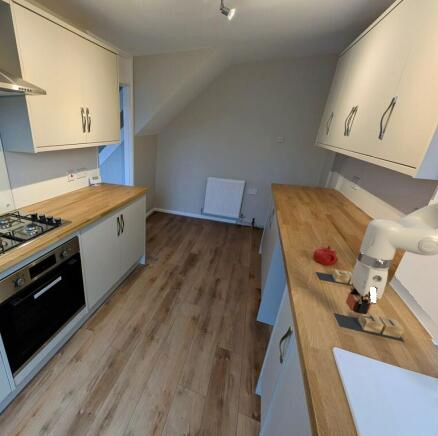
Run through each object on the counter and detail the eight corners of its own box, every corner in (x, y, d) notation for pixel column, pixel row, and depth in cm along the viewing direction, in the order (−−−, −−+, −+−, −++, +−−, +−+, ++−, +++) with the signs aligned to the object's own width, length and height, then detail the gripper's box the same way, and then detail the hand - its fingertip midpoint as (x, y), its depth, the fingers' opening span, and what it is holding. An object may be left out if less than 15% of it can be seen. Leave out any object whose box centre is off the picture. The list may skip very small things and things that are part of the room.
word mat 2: (392, 327, 80) (393, 326, 80) (404, 343, 74) (405, 342, 74) (332, 314, 86) (333, 312, 85) (339, 328, 80) (339, 326, 79)
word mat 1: (370, 282, 104) (371, 281, 103) (378, 292, 98) (379, 291, 97) (314, 272, 111) (315, 271, 110) (319, 281, 105) (319, 279, 104)
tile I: (392, 328, 79) (396, 319, 78) (399, 338, 75) (404, 329, 74) (375, 324, 80) (379, 315, 79) (382, 334, 76) (386, 325, 75)
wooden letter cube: (357, 280, 104) (360, 273, 103) (362, 286, 100) (364, 278, 99) (345, 278, 106) (348, 271, 104) (349, 284, 102) (352, 276, 100)
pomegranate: (307, 259, 122) (311, 243, 119) (320, 256, 125) (325, 240, 122) (326, 269, 113) (332, 252, 110) (340, 265, 117) (346, 248, 114)
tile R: (343, 278, 106) (346, 271, 104) (347, 283, 102) (350, 276, 101) (332, 276, 107) (334, 269, 106) (335, 281, 103) (337, 274, 102)
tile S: (361, 305, 80) (364, 296, 79) (367, 313, 76) (371, 304, 75) (345, 301, 81) (348, 293, 80) (350, 310, 78) (354, 301, 76)
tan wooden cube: (373, 324, 81) (377, 315, 79) (380, 333, 77) (384, 324, 75) (357, 320, 82) (361, 311, 81) (363, 329, 78) (367, 321, 77)
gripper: (406, 276, 64) (383, 329, 70) (375, 249, 79) (359, 294, 85) (371, 271, 66) (352, 322, 73) (348, 245, 81) (334, 290, 87)
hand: (356, 307), depth 79 cm, fingers closed on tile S, 4 cm apart
